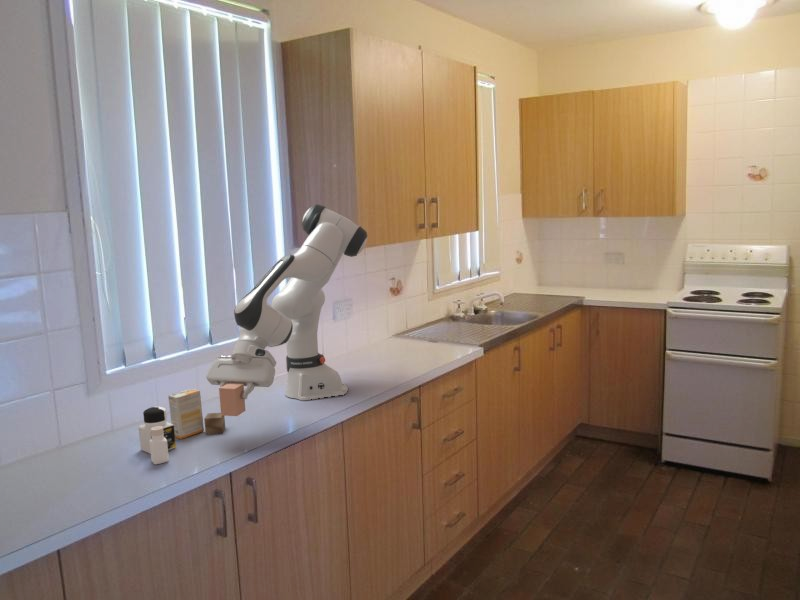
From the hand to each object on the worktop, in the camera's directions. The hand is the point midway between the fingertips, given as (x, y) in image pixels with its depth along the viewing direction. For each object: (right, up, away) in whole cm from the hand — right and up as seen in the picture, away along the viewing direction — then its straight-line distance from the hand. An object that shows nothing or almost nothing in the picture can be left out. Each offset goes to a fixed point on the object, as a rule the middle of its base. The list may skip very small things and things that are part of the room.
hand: (232, 397), depth 187 cm
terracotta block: (0, -4, 0) cm, 4 cm away
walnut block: (-9, -12, +13) cm, 19 cm away
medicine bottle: (-21, -15, 0) cm, 26 cm away
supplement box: (-16, -13, +11) cm, 23 cm away
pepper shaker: (-17, -16, -10) cm, 26 cm away
